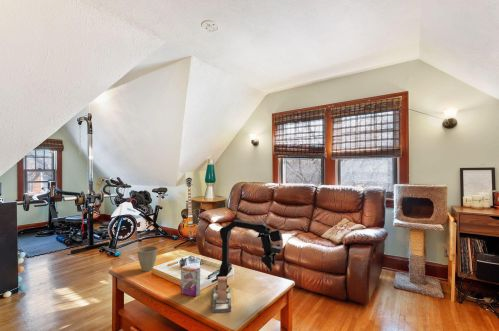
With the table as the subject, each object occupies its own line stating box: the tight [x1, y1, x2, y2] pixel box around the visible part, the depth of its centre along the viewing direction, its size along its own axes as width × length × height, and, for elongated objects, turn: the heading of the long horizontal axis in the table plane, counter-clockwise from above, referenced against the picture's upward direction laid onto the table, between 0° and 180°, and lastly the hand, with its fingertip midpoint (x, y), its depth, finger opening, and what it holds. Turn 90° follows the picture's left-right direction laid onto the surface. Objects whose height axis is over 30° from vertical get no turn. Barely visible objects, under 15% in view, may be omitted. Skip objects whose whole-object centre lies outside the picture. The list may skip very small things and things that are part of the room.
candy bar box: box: [180, 264, 201, 297], centre depth 159 cm, size 11×5×16 cm, turn 71°
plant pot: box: [137, 245, 159, 272], centre depth 197 cm, size 15×15×16 cm
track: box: [212, 288, 232, 313], centre depth 149 cm, size 20×10×4 cm, turn 5°
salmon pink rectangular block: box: [216, 276, 228, 303], centre depth 149 cm, size 7×7×12 cm
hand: (272, 268), depth 160 cm, fingers open, 9 cm apart
